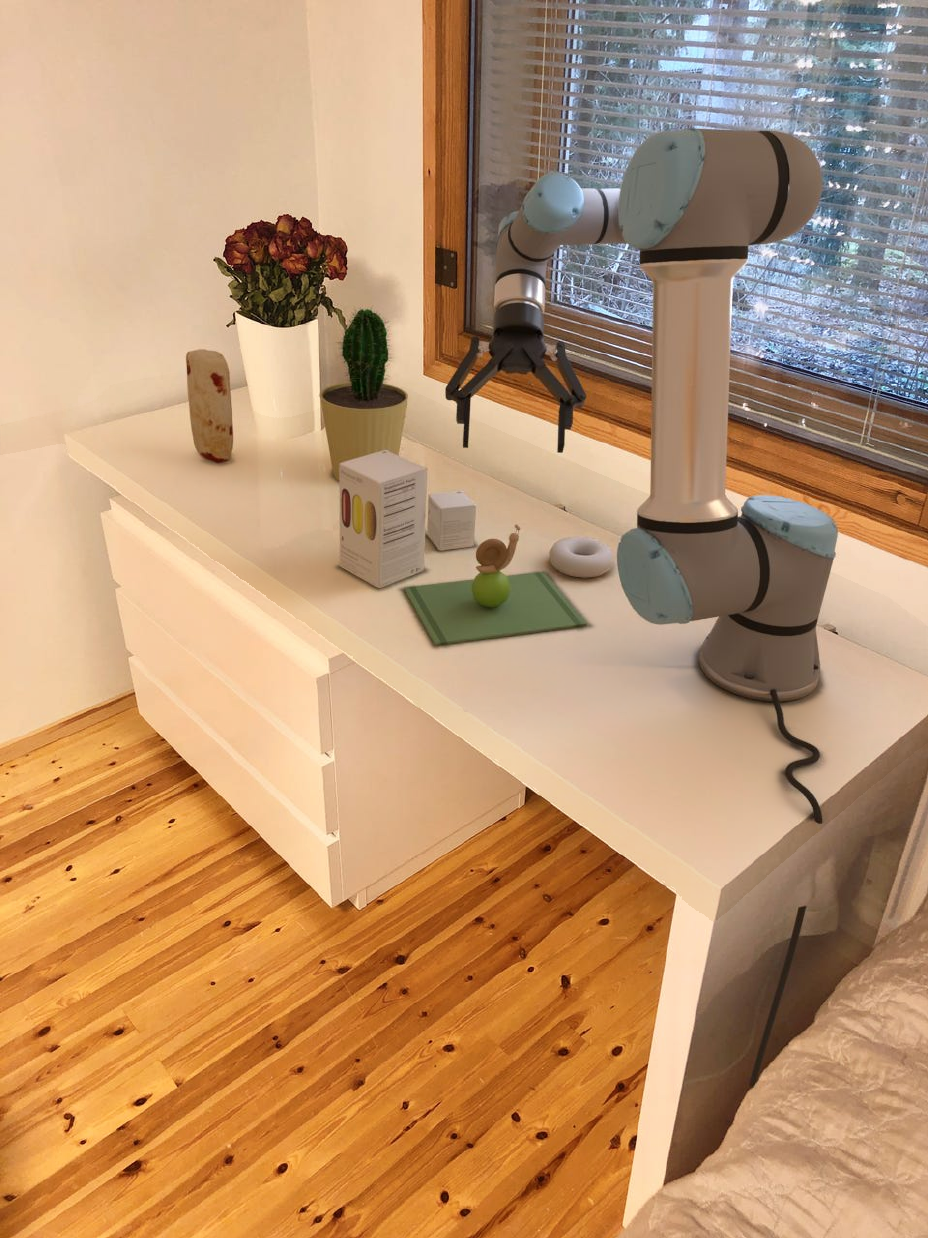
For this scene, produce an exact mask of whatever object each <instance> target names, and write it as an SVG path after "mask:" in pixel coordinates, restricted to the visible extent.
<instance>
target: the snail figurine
mask: <svg viewBox="0 0 928 1238" xmlns="http://www.w3.org/2000/svg"><path fill="white" fill-rule="evenodd" d="M514 528H515V532H512V533H510V534H509V536H508V541H509V542H508V544H507V545H506V543H504V542H503V541H502V540H501V539H498V538H488V539H486V540H484V541H483V542H481V543H480V544H479V545H478V547H477V548H476V551H475V559H476V561H477V563H478V564H479V565H476V566H475V570H477V571H478V573H477V574H476V576H474V578H473V579H472V580H473V583H472V594H473V596H474V598H475V600H476V601H477V602H478V603H479V604H481V605H482V606H485V607H490V608H492V607H497V606H500V605H501V604H503V603H504V602H505V601H506V600H507V598H508V596H509V594H510V583H509V580H508V578H507V577H506V576H507V575H505V573H504V572H502V570H504V569H506V568H507V567H508V566H509V565H510V563H511V562H512V560H513V558H514V555H515V552H516V549H517V544H518V542H519V539H520V535H519V534H520V530H521V526H519V524H517V523H516V524H514Z"/></svg>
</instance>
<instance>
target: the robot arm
mask: <svg viewBox="0 0 928 1238" xmlns="http://www.w3.org/2000/svg"><path fill="white" fill-rule="evenodd" d="M823 186H824V182H823V172H822V168H821V165H820V162H819V160H818V158H817V156H816V155H815V153H814V152H813V150H812V149H811V148H810V147H809V146H808V145H807V144H806V143H805V142H804V141H803V140H801V139H799V138H797V137H796V136H794V135H791V134H789V133H785V132H781V131H778V130H757V131H756V130H741V129H740V130H739V129H719V128H718V129H715V128H713V129H712V128H695V127H691V128H684V129H683V128H682V129H672V130H671V129H670V130H662V131H658V132H655V133H653V134H652V135H650V136H648V137H647V138H646V139H644V140H643V141H642V142H641V143H640V145H639V146H638V147H637V148H636V149H635V151H634V153H633V155H632V158H631V159H630V161H629V162H628V164H627V166H626V168H625V172H624V175H623V177H622V181H621V185H620V187H618V188H616V187H615V188H614V187H613V188H585V187H584V188H583V187H582V188H581V186H580V185H579V184H578V182H577V181H576V180H575V179H573V178H572V177H571V176H569V177H568V176H567V175H564V174H563V173H561V172H549V173H546V174H544V175H542V176H541V177H539V178H538V179H537V181H536V182H535V183H534V184H533V186H531V188H530V190H529V191H527V193H526V195H525V196H524V198H523V201H522V204H521V206H520V207H519V209H518V210H516V211H513V212H511V213H509V215H507V216H504V217H503V218H502V219H501V220H500V223H499V226H498V231H497V237H496V241H495V245H496V246H495V249H496V257H495V258H496V259H495V280H494V281H495V282H494V283H495V284H494V298H493V312H494V313H493V319H492V337H491V340H490V341H485V340H480V338H479V337H478V336H473V337H472V338H471V339H470V343H469V344H470V345H469V349H468V351H467V352H466V354H465V355H464V357H463V359H462V361H461V362H460V364H459V365H458V367H457V369H456V370H455V371H454V373H453V375H452V376H451V378H450V380H449V382H448V383H447V384H446V386H445V393H444V395H445V399H446V400H447V401H453V402H455V403H456V414H455V416H456V417H455V420H456V423H457V425H463V432H462V433H463V434H462V448H463V449H468V448H469V437H470V423H471V422H470V421H471V400H472V398H473V397H474V396H475V395H476V394H477V393H478V392H479V391H480V390H481V389H482V388H483V387H484V386H485V385H486V384H487V383H488V382H490V380H491V379H492V378H493V377H496V376H498V374H500V372H501V371H503V372H505V374H507V375H512V374H519V375H525V376H526V375H528V374H529V373H530V374H532V375H533V376H534V377H535V378H536V379H538V381H540V383H541V384H542V385H543V386H544V387H545V389H547V391H548V392H549V393H550V394H551V395H552V397H553V398H554V399H555V400H556V401H557V402H558V404H559V408H558V417H557V419H558V420H557V423H558V424H557V447H556V449H557V451H556V453H558V454H559V453H560V454H563V453H564V449H565V442H566V441H565V440H566V430H568V431H570V430H571V429H572V427H573V424H574V409H576V408H583V407H584V406H585V403H586V400H587V393H586V391H585V390H584V387H583V385H582V383H581V382H580V380H579V378H578V375H577V374H576V372H575V369H574V368H573V366H572V365H571V362H570V360H569V358H568V356H567V353H566V344H565V342H564V341H561V340H560V341H558V342H556V344H549V345H547V344H546V343H545V339H544V338H545V335H544V334H545V309H546V284H547V283H546V278H547V277H546V276H547V267H548V263H549V261H550V260H551V258H552V257H553V256H554V254H555V253H556V252H557V250H558V249H559V247H560V246H577V245H578V246H579V245H625V244H627V246H630V247H631V248H633V249H635V250H636V251H639V268H640V270H642V272H644V274H645V275H646V276H647V277H648V278H649V279H650V280H651V283H652V330H651V331H652V335H651V337H652V339H651V341H652V342H651V343H652V344H651V354H652V355H651V408H650V409H651V411H650V412H651V418H650V490H649V491H650V492H649V493H650V494H649V496H648V498H647V499H645V501H644V502H643V503H642V504H640V505H639V507H637V509H636V527H635V528H631V529H629V530H628V531H626V532H625V533H623V534H622V536H621V538H620V540H619V541H620V542H618V545H617V548H616V549H617V550H616V566H617V572H618V577H619V582H620V585H621V587H622V590H623V592H624V595H625V597H626V598H627V600H628V602H629V604H630V606H631V608H632V609H633V610H634V611H635V612H636V614H637V615H638V616H639V617H640V618H642V619H643V620H644V621H646V622H648V623H650V624H653V625H672V624H679V625H682V624H683V625H684V624H685V625H686V624H689V623H690V622H695V621H700V620H701V621H702V620H707V619H712V618H717V619H716V621H715V623H714V624H713V626H712V628H711V631H710V632H709V633H708V634H707V636H706V637H705V638H704V640H703V643H702V645H701V647H700V651H699V659H698V662H699V667H700V669H701V671H702V672H703V673H704V675H705V676H706V677H707V678H708V679H709V680H710V681H711V682H712V683H714V684H715V685H717V686H718V687H720V688H722V689H724V690H725V691H728V692H730V693H732V694H735V695H737V696H740V697H743V698H747V699H752V700H755V701H756V700H757V701H762V702H772V703H773V706H774V711H775V713H776V719H777V720H776V721H777V726H778V730H779V732H780V734H781V736H782V737H784V739H786V740H787V741H788V742H790V743H792V744H793V745H796V746H798V747H801V748H803V749H806V750H808V751H809V752H811V754H812V755H811V756H809V757H806V758H802V759H797V760H793V761H792V762H789V764H787V765H786V767H785V770H784V774H785V778H786V780H787V782H788V783H789V784H790V785H791V786H792V787H794V788H795V789H796V790H797V791H798V792H799V793H801V794H802V795H803V796H804V797H805V798H806V799H807V801H808V803H809V804H810V807H811V810H812V811H813V817H814V823H816V824H819V825H822V824H823V814H822V810H821V806H820V803H819V801H818V799H817V798H816V797H815V795H814V793H812V792H811V791H810V790H809V789H808V788H807V787H806V786H805V785H803V783H801V782H800V781H799V780H797V778H795V776H794V775H793V772H794V770H795V769H797V768H801V767H805V766H808V765H809V766H810V765H812V764H815V763H817V762H818V761H819V759H820V758H821V757H820V756H821V753H820V750H819V748H818V747H817V746H815V745H814V744H812V743H810V742H807V741H805V740H803V739H801V738H798V737H796V736H794V735H793V734H791V733H790V732H789V731H788V729H787V727H786V725H785V718H784V711H783V709H782V705H781V702H790V701H795V700H799V699H802V698H804V697H806V696H808V695H810V694H811V693H812V692H814V690H815V689H816V687H817V685H818V682H819V678H820V674H821V660H820V651H819V644H818V636H817V625H818V620H819V616H820V614H821V613H820V612H821V608H822V604H823V602H824V596H825V594H826V590H827V586H828V582H829V578H830V574H831V571H832V567H833V564H834V559H835V558H836V554H837V553H836V546H837V542H838V536H839V530H838V527H837V523H836V522H835V520H833V518H831V516H830V515H828V514H827V513H825V512H824V511H822V510H820V509H819V508H818V507H815V506H812V505H810V504H808V503H805V502H802V501H800V500H797V499H792V498H789V497H785V496H778V495H770V494H769V495H768V494H758V495H753V496H750V497H748V498H746V500H745V501H744V503H743V505H742V506H741V507H740V511H741V515H739V509H738V508H737V506H736V505H735V504H734V503H733V502H732V501H731V500H730V499H729V498H728V497H727V495H726V485H727V483H726V481H727V455H728V454H727V453H728V426H729V400H730V399H729V398H730V397H729V395H730V393H729V392H730V370H731V369H730V367H731V363H730V362H731V337H732V310H733V309H732V308H733V284H734V283H733V282H734V278H735V276H736V275H737V274H738V273H739V272H740V271H741V270H742V269H743V268H744V267H745V266H746V265H747V264H748V261H749V246H760V245H768V244H769V245H770V244H773V243H777V242H780V241H783V240H786V239H789V238H790V237H792V236H793V235H795V234H796V233H798V232H799V231H801V230H802V229H803V228H804V227H805V226H806V225H807V224H808V223H809V222H810V220H811V219H812V217H813V216H814V215H815V213H816V211H817V209H818V207H819V204H820V201H821V197H822V195H823V194H822V193H823ZM486 352H488V354H489V355H490V359H489V360H488V362H487V363H486V364H485V365H484V366H483V367H482V368H481V369H480V370H479V371H478V372H477V373H476V374H474V376H473V377H472V378H470V380H468V381H467V382H466V384H465V385H463V384H464V382H465V381H466V379H467V377H468V376H469V375H470V373H471V371H472V369H473V368H474V366H475V365H476V363H477V361H478V358H481V357H483V355H484V354H485V353H486ZM547 355H548V356H549V357H550V359H551V361H552V362H555V364H556V368H557V369H558V372H559V374H560V375H561V378H562V379H563V382H564V383H565V385H566V387H567V388H566V387H565V386H564V385H563V383H561V381H560V380H559V379H558V378H557V377H556V376H555V374H554V373H553V372H552V371H551V370H550V369H549V367H548V366H547V364H546V362H545V361H544V358H545V357H546V356H547ZM567 389H568V390H567ZM806 910H807V905H803V906H799V907H797V912H796V916H795V920H794V925H793V928H792V933H791V936H790V940H789V943H788V947H787V951H786V955H785V959H784V962H783V964H782V965H783V966H782V968H781V973H780V976H779V980H778V983H777V986H776V990H775V994H774V996H773V1000H772V1002H771V1007H770V1010H769V1012H768V1016H767V1020H766V1023H765V1025H764V1031H763V1033H762V1036H761V1040H760V1043H759V1047H758V1051H757V1053H756V1057H755V1061H754V1064H753V1068H752V1070H751V1071H752V1072H751V1076H750V1079H749V1084H748V1085H749V1086H750V1087H751V1088H754V1087H753V1086H754V1085H755V1083H756V1084H757V1081H758V1078H759V1075H760V1071H761V1067H762V1064H763V1060H764V1057H765V1054H766V1051H767V1047H768V1043H769V1040H770V1037H771V1034H772V1030H773V1026H774V1023H775V1020H776V1018H777V1013H778V1010H779V1007H780V1003H781V1000H782V998H783V994H784V990H785V987H786V983H787V980H788V977H789V974H790V971H791V967H792V964H793V960H794V956H795V953H796V949H797V945H798V942H799V937H800V935H801V931H802V926H803V924H804V923H803V922H804V919H805V914H806Z"/></svg>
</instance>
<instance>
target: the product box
mask: <svg viewBox="0 0 928 1238" xmlns="http://www.w3.org/2000/svg"><path fill="white" fill-rule="evenodd" d="M427 499H428V500H427V524H426V526H427V527H426V536H427V537H428V538H429V539H430V540H431V542H432V543H433V544H434V546H435V547H436V549H437V550H438V551H439V552H441V551H448V550H456V549H464V548H472V547H474V546H475V533H476V519H477V505H476V504H475V502H474V501H473V500H472V499H471V497H470V496H468V494H467V493H466V492H465V491H464V490H454V491H453V490H452V491H445V492H444V491H443V492H436V493H435V492H434V493H428V495H427Z"/></svg>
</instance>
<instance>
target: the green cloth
mask: <svg viewBox="0 0 928 1238" xmlns="http://www.w3.org/2000/svg"><path fill="white" fill-rule="evenodd" d="M505 576H506V577H507V578H508V580H509V583H510V594H509V596H508V598H507V600H506V601H505V602H504V603H503V604H501V605H500V606H497V607H492V608H490V607H485V606H482V605H481V604H479V603H478V602H477V601H476V600H475V598H474V596H473V594H472V583H473V580H474V579H468V580H466V579H465V580H458V581H449V582H439V583H432V584H431V583H430V584H421V585H412V586H404V587H403V590H404V593H405V594H406V596H407V599H408V600H409V601H410V604H411V606H412V607H413V609H414V610H415V612H416V615H417V616H418V618H419V619H420V621H421V623H422V624H423V626H424V628H425V630H426V632H427V634H428V635H429V637H430V639H431V640H432V643H433V644H434V646H443V645H450V644H458V643H465V642H473V641H481V640H488V639H489V640H490V639H496V638H504V637H505V638H506V637H511V636H520V635H526V634H535V633H542V632H549V631H557V630H566V629H572V628H578V627H586V626H587V622H586V621H585V620H584V619H583V617H582V616H581V614H579V612H578V611H577V610H576V608H574V606H573V605H572V603H571V602H570V601H569V600H568V599H567V598H566V596H565V595H564V594H563V593H562V591H561V590H560V589H559V587H558V586H557V585H556V584H555V583H554V582H553V580H552V579H551V578H550V577H549V576H548V574H547V573H546V572H545V571H536V572H529V573H528V572H527V573H521V574H511V575H510V574H509V575H505Z"/></svg>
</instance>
